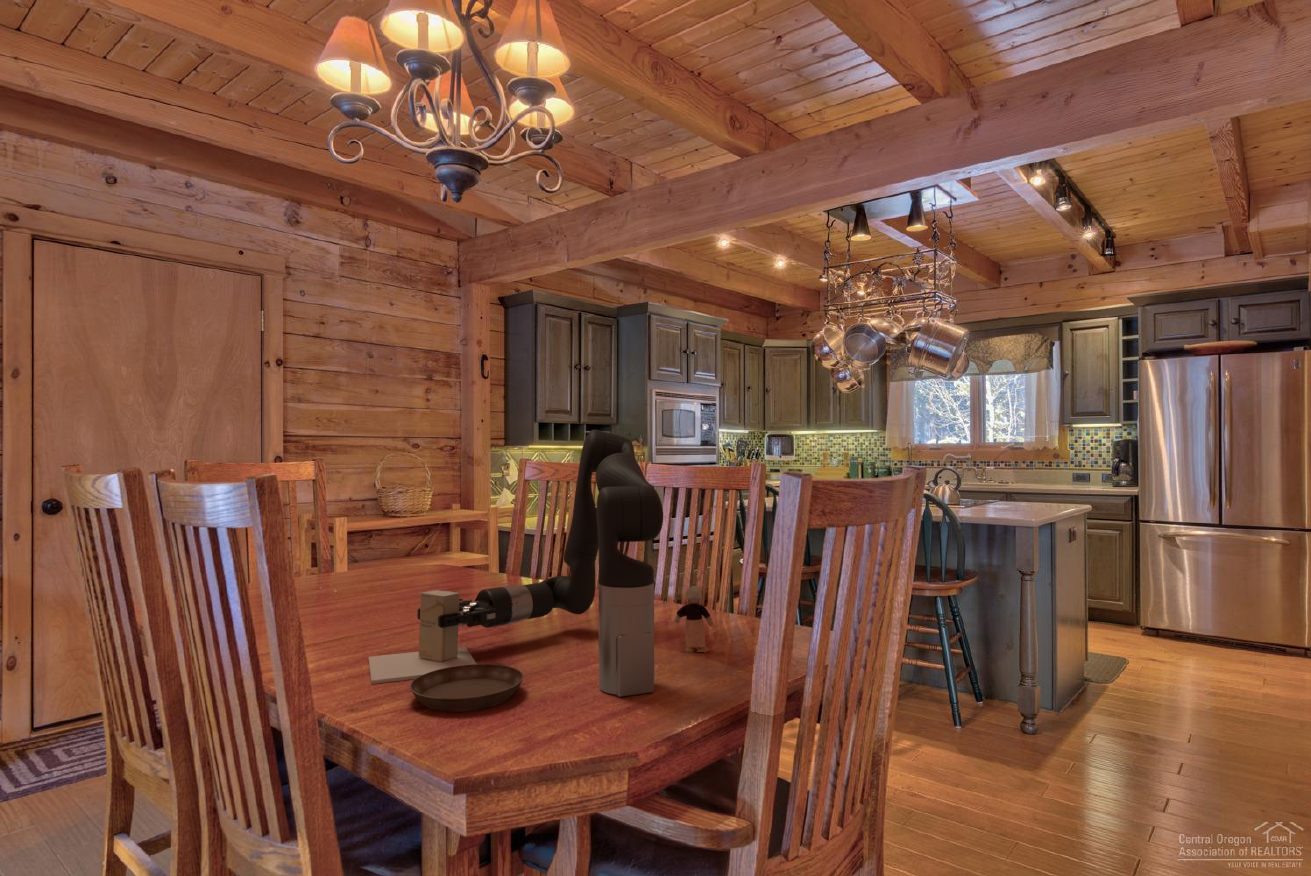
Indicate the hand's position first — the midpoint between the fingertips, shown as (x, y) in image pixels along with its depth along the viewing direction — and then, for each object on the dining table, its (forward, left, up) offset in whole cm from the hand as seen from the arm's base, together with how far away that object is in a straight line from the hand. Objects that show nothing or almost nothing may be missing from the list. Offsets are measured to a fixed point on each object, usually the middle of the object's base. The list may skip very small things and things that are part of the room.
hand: (428, 618), depth 139 cm
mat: (-1, +1, -8) cm, 8 cm away
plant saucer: (-22, -4, -9) cm, 24 cm away
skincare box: (+1, -2, -8) cm, 8 cm away
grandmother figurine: (-12, -49, -9) cm, 51 cm away
